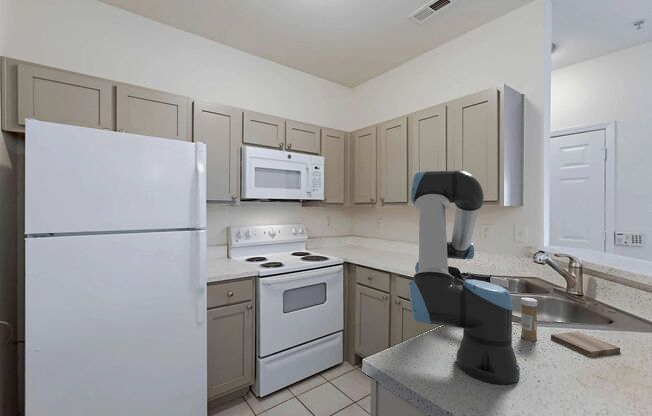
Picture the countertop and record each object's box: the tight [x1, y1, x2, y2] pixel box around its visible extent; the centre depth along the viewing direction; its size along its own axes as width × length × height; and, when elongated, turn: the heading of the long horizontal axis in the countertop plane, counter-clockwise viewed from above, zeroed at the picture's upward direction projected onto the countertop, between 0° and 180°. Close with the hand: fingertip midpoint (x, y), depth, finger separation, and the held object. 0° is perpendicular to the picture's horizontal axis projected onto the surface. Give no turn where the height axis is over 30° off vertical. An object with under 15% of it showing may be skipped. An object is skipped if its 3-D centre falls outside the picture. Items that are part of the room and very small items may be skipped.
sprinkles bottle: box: [520, 297, 538, 342], centre depth 97 cm, size 5×5×14 cm
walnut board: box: [550, 331, 621, 358], centre depth 92 cm, size 12×12×2 cm
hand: (499, 286), depth 106 cm, fingers open, 13 cm apart
